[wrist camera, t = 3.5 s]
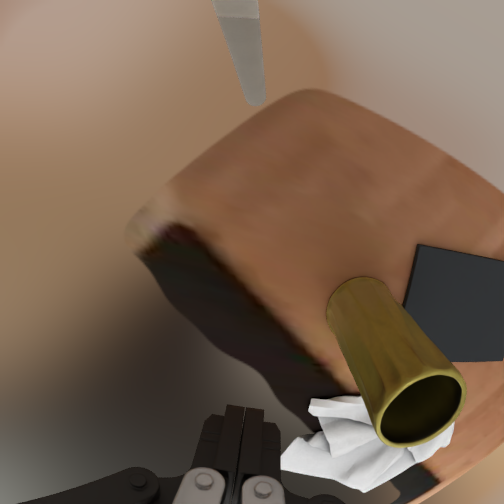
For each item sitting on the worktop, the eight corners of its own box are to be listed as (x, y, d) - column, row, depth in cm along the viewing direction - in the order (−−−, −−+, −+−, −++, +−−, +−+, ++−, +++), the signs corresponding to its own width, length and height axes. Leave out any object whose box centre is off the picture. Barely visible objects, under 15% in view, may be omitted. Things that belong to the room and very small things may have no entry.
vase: (393, 332, 27) (464, 433, 13) (329, 347, 27) (365, 466, 13) (389, 269, 26) (481, 345, 12) (321, 284, 26) (365, 382, 12)
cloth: (465, 435, 29) (472, 446, 27) (322, 508, 33) (323, 521, 30) (426, 327, 26) (437, 338, 24) (236, 431, 30) (234, 446, 28)
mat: (417, 243, 25) (420, 245, 24) (529, 266, 24) (533, 268, 24) (386, 357, 27) (388, 360, 27) (499, 358, 27) (502, 361, 26)
